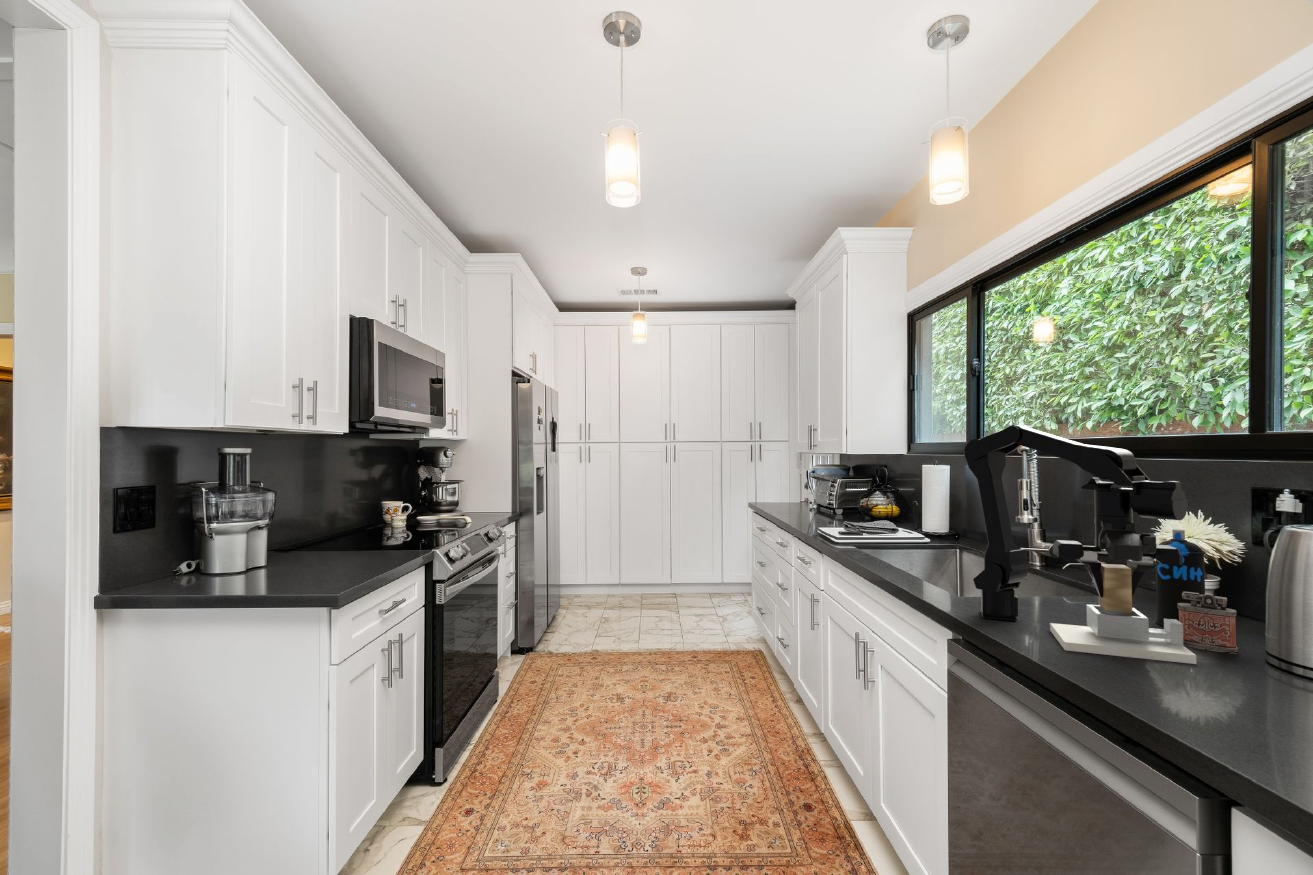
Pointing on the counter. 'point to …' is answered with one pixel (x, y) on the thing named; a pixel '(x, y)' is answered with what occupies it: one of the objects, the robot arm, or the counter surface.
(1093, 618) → the bracket
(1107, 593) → the oak rail post
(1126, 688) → the counter surface
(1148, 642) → the bracket board
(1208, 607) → the lighter
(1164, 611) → the aerosol can
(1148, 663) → the counter surface
